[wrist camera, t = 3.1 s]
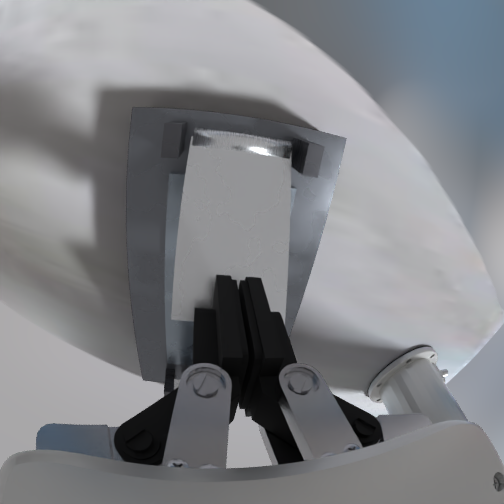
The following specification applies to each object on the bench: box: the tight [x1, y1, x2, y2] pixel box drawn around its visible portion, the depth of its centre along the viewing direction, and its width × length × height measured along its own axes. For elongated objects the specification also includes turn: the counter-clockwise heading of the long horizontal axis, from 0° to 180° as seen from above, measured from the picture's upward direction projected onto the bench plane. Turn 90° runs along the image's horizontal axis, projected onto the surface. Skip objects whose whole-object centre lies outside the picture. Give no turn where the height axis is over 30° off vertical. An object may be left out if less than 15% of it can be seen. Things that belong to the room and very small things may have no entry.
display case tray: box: [126, 107, 347, 396], centre depth 18 cm, size 12×22×8 cm, turn 170°
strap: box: [171, 128, 292, 325], centre depth 13 cm, size 9×5×1 cm
